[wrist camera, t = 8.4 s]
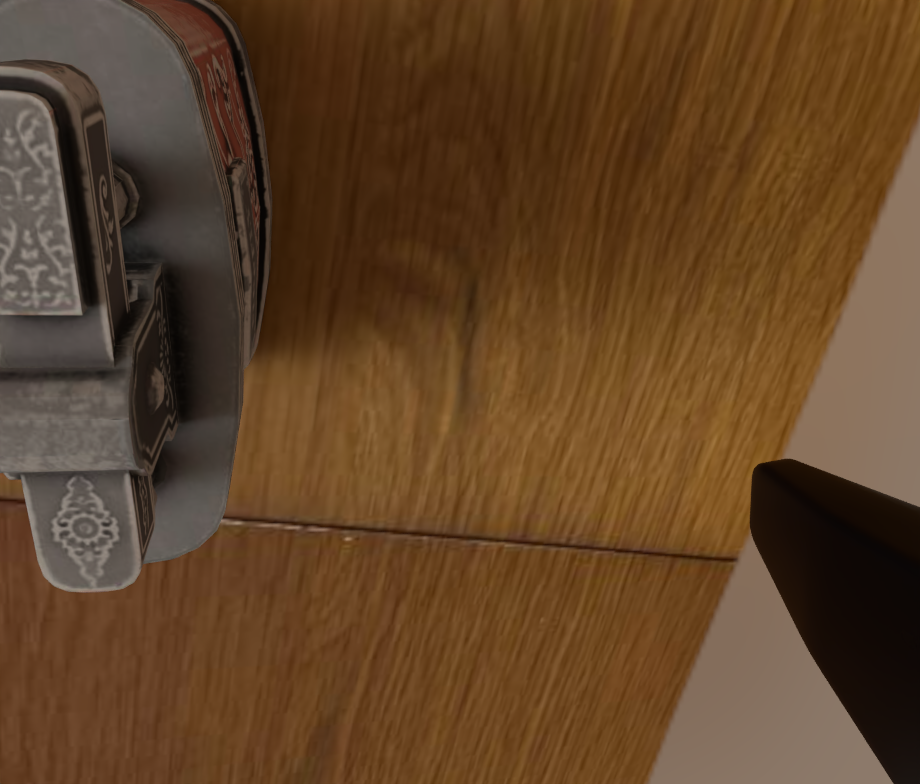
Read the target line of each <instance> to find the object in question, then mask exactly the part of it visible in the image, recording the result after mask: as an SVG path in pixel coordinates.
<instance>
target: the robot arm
mask: <svg viewBox="0 0 920 784" xmlns="http://www.w3.org/2000/svg"><path fill="white" fill-rule="evenodd" d="M750 529H751V533H752V537H753V540H754V542H755V545H756V547H757V549H758V551H759V553H760V554H761V556H762V559H763V561H764V563H765V565H766V567H767V569H768V571H769V573H770V575H771V577H772V579H773V581H774V583H775V585H776V587H777V589H778V591H779V593H780V595H781V597H782V599H783V601H784V603H785V605H786V607H787V609H788V611H789V613H790V615H791V617H792V619H793V621H794V623H795V625H796V627H797V629H798V631H799V633H800V635H801V637H802V639H803V641H804V642H805V645H806V646H807V648H808V650H809V652H810V654H811V655H812V657H813V659H814V660H815V662H816V664H817V665H818V667H819V668H820V670H821V672H822V673H823V675H824V676H825V678H826V679H827V681H828V682H829V684H830V686H831V687H832V689H833V690H834V692H835V693H836V695H837V696H838V698H839V700H840V701H841V703H842V704H843V706H844V707H845V709H846V710H847V712H848V713H849V715H850V717H851V718H852V720H853V721H854V723H855V724H856V726H857V727H858V729H859V731H860V732H861V734H862V735H863V737H864V738H865V740H866V742H867V743H868V745H869V746H870V748H871V749H872V751H873V752H874V754H875V755H876V757H877V758H878V760H879V761H880V763H881V765H882V766H883V768H884V769H885V771H886V773H887V774H888V776H889V777H890V779H891V780H892V782H893V783H894V784H920V507H917V506H915V505H912V504H910V503H907V502H904V501H902V500H899V499H896V498H894V497H891V496H888V495H886V494H883V493H881V492H878V491H875V490H872V489H870V488H867V487H865V486H862V485H859V484H857V483H854V482H851V481H849V480H846V479H844V478H841V477H838V476H835V475H833V474H830V473H828V472H825V471H822V470H820V469H817V468H814V467H812V466H809V465H807V464H804V463H801V462H799V461H796V460H793V459H782V460H776V461H771V462H765V463H760V464H758V465H757V466H756V467H755V468H754V471H753V474H752V486H751V507H750Z"/></svg>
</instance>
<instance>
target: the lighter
mask: <svg viewBox="0 0 920 784" xmlns="http://www.w3.org/2000/svg"><path fill="white" fill-rule="evenodd" d="M271 225H272V192H271V183H270V174H269V165H268V157H267V148H266V139H265V130H264V122H263V118H262V113H261V109H260V105H259V100H258V96H257V92H256V87H255V83H254V79H253V74H252V70H251V66H250V62H249V57H248V53H247V49H246V44H245V42H244V39H243V37H242V35H241V33H240V30H239V28H238V26H237V24H236V23H235V22H234V21H233V19H232V18H231V17H230V16H229V15H228V14H227V13H226V12H225V11H224V10H223V9H222V8H221V6H219V5H217V4H216V3H214V2H212V1H210V0H0V473H4V475H5V476H6V477H7V478H9V479H10V480H15V479H21V481H22V486H23V491H24V496H25V501H26V505H27V510H28V515H29V520H30V525H31V530H32V534H33V539H34V544H35V549H36V554H37V559H38V563H39V565H40V568H41V570H42V573H43V575H44V577H45V578H46V579H47V580H48V581H49V582H50V583H51V584H52V585H53V586H55V587H58V588H60V589H63V590H66V591H70V592H86V593H87V592H106V591H112V590H118V589H123V588H125V587H126V586H128V585H130V584H132V583H134V581H135V580H136V578H137V576H138V575H139V573H140V571H141V568H142V565H143V564H146V563H152V562H158V561H164V560H170V559H174V558H176V557H179V556H181V555H183V554H185V553H187V552H190V551H192V550H194V549H196V548H198V547H200V546H201V545H202V544H203V543H204V542H205V541H206V540H207V539H208V538H209V537H210V536H211V535H213V534H214V533H215V532H216V531H217V528H218V526H219V524H220V522H221V519H222V517H223V515H224V512H225V509H226V503H227V498H228V493H229V488H230V482H231V476H232V470H233V463H234V457H235V451H236V444H237V438H238V431H239V425H240V419H241V412H242V406H243V385H244V369H245V368H246V367H247V366H248V365H249V364H250V361H251V360H252V357H253V355H254V352H255V350H256V348H257V345H258V340H259V335H260V330H261V323H262V317H263V311H264V305H265V298H266V292H267V286H268V280H269V273H270V258H271Z"/></svg>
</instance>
